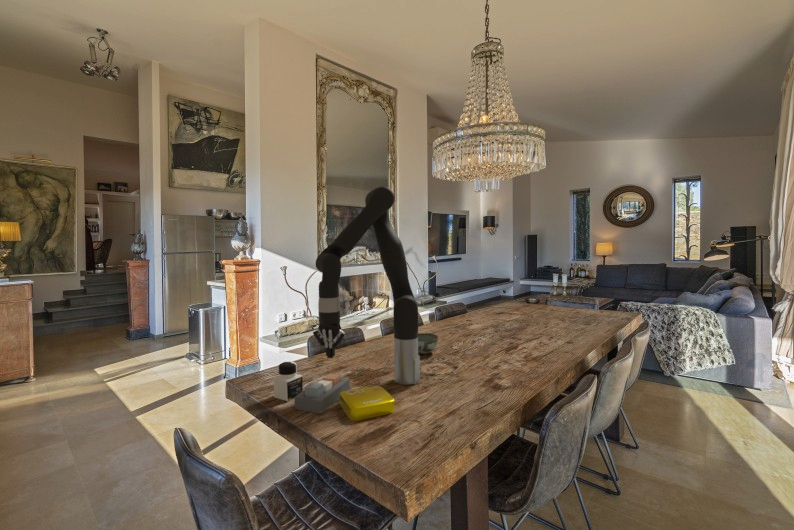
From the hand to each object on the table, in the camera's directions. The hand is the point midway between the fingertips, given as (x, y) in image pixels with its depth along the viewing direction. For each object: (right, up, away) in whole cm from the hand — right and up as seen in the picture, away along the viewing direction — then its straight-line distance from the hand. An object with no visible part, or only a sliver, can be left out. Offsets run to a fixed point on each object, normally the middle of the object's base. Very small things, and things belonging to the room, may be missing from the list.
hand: (330, 357), depth 138 cm
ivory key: (-2, -11, -4) cm, 12 cm away
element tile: (+14, -14, -11) cm, 23 cm away
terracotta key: (0, -11, +1) cm, 11 cm away
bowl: (+37, -10, +49) cm, 62 cm away
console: (-2, -13, -4) cm, 14 cm away
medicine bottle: (-15, -14, -1) cm, 20 cm away
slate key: (-4, -10, -10) cm, 15 cm away
